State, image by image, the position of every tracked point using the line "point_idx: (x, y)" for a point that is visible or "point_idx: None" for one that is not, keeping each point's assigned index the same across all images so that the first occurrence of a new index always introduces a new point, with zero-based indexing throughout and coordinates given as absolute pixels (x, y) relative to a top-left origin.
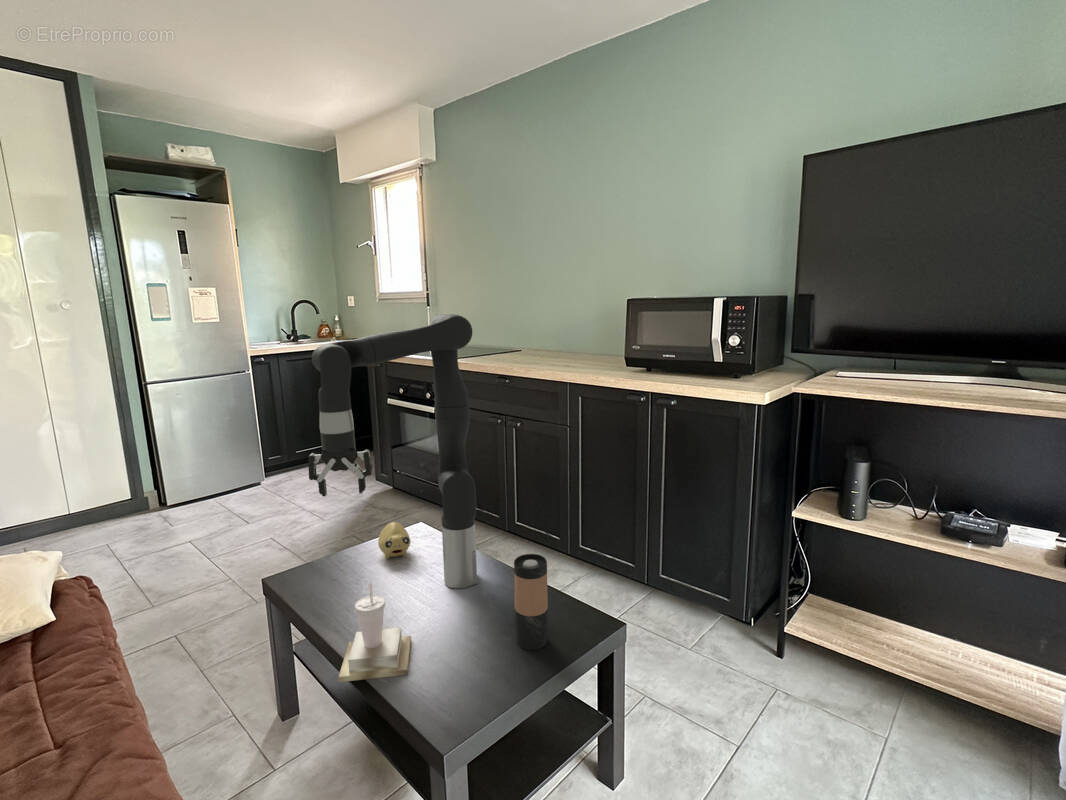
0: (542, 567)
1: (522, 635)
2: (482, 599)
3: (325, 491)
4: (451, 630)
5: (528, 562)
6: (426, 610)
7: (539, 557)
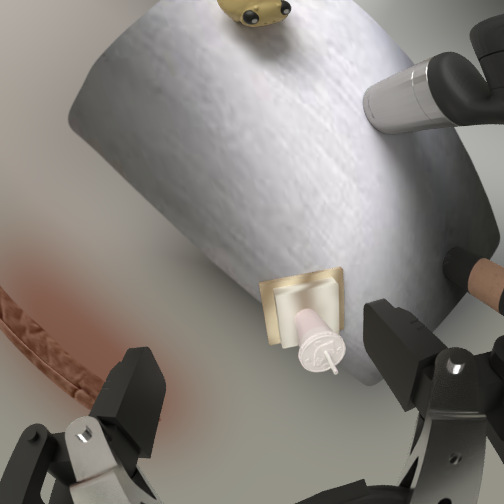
0: None
1: (454, 282)
2: (418, 169)
3: (153, 386)
4: (386, 243)
5: None
6: (351, 191)
7: None
